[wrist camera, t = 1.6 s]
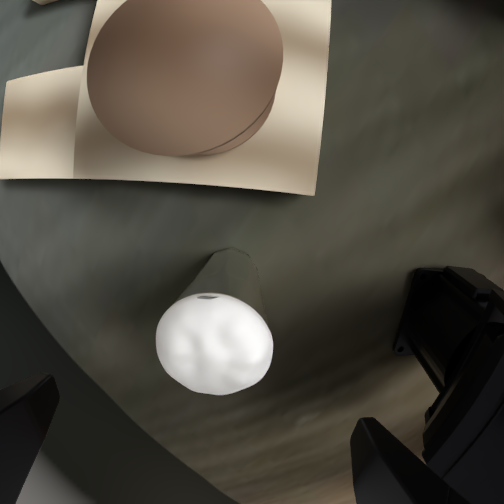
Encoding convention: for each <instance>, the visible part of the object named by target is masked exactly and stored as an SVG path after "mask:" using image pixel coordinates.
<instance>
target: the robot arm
mask: <svg viewBox="0 0 504 504" xmlns="http://www.w3.org/2000/svg"><path fill="white" fill-rule="evenodd" d="M423 273H424V275H423V277H422V278H420V275H421V274H423ZM401 346H402V347H401ZM399 347H401V348H400V349H398V348H399ZM393 351H394V353H395V354H396V355H415V356H416V358H417V359H418V361H419V362H420V364H421V365H422V367H423V368H424V370H425V371H426V373H427V375H428V376H429V378H430V379H431V381H432V382H433V384H434V385H435V387H436V389H437V390H438V392H439V393H440V394H439V395H438V397H437V399H436V400H435V402H434V403H433V405H432V406H431V407H429V408H428V410H427V411H426V413H425V424H426V426H425V429H424V432H423V443H424V450H423V451H422V456H423V459H424V461H425V463H426V464H424V463H423V462H422V461H421V460H420V459H419V458H418V457H417V456H416V455H414V454H413V453H412V452H411V451H410V450H409V449H408V448H407V447H406V446H404V445H403V444H402V443H401V442H400V441H399V440H398V439H397V438H396V437H395V436H393V435H392V434H391V433H390V432H389V431H388V430H387V429H386V428H385V427H384V426H383V425H382V424H380V423H379V422H378V421H377V420H376V419H375V418H373V417H364V418H360V419H359V420H358V422H357V424H356V426H355V429H354V431H353V433H352V435H351V439H350V446H351V459H352V473H353V486H354V492H355V497H356V503H357V504H504V291H503V289H501V288H500V287H499V286H497V285H496V284H494V283H493V282H491V281H490V280H488V279H487V278H486V277H485V276H484V275H482V274H479V273H478V272H476V271H475V270H473V269H470V268H461V267H452V266H446V267H445V268H443V270H439V269H430V268H419V269H417V270H416V271H415V274H414V277H413V281H412V285H411V288H410V292H409V296H408V299H407V303H406V306H405V310H404V313H403V316H402V320H401V323H400V326H399V329H398V332H397V335H396V338H395V341H394V344H393ZM59 397H60V396H59V392H58V388H57V385H56V382H55V379H54V377H53V376H52V375H51V374H48V373H45V372H40V373H37V374H35V375H33V376H30V377H28V378H26V379H24V380H22V381H19V382H17V383H15V384H12V385H10V386H8V387H6V388H3V389H1V390H0V504H16V501H17V499H18V497H19V494H20V492H21V489H22V487H23V485H24V483H25V480H26V478H27V476H28V474H29V472H30V469H31V467H32V465H33V463H34V461H35V459H36V457H37V454H38V452H39V450H40V448H41V446H42V444H43V442H44V440H45V437H46V435H47V432H48V429H49V427H50V424H51V421H52V419H53V416H54V413H55V411H56V408H57V405H58V403H59Z"/></svg>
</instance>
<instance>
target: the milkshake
mask: <svg viewBox="0 0 504 504" xmlns="http://www.w3.org/2000/svg"><path fill="white" fill-rule="evenodd" d="M156 349H157V354H158V357H159V360H160V362H161V364H162V366H163V368H164V369H165V371H166V372H167V373H168V374H169V375H170V376H171V377H172V378H174V379H175V380H176V381H178V382H179V383H181V384H182V385H184V386H185V387H187V388H188V389H190V390H192V391H195V392H199V393H207V394H213V395H226V394H231V393H234V392H237V391H240V390H242V389H245V388H247V387H250V386H252V385H254V384H255V383H257V382H258V381H259V380H261V379H262V378H263V376H264V375H265V374H266V372H267V370H268V368H269V366H270V363H271V359H272V354H273V339H272V335H271V332H270V329H269V325H268V320H267V316H266V312H265V308H264V303H263V297H262V291H261V286H260V280H259V275H258V269H257V267H256V266H255V264H254V263H253V261H252V260H251V258H250V257H249V255H248V254H246V253H243V252H240V251H238V250H235V249H233V248H231V249H226V250H222V251H218V252H215V253H214V254H213V255H212V257H211V258H210V259H209V260H208V261H207V263H206V264H205V265H204V266H203V268H202V269H201V270H200V272H199V273H198V274H197V276H196V277H195V278H194V280H193V281H192V282H191V284H190V285H189V286H188V287H187V288H186V289H185V290H184V291H183V292H182V293H181V294H180V296H179V297H178V298H177V299H176V300H175V301H174V302H173V304H172V305H171V306H170V307H169V308H168V310H167V311H166V312H165V313H164V314H163V316H162V317H161V319H160V321H159V323H158V326H157V330H156Z"/></svg>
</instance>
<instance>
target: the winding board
mask: <svg viewBox="0 0 504 504" xmlns="http://www.w3.org/2000/svg"><path fill="white" fill-rule="evenodd" d="M32 1H34V2H36V3H38V4H40V5H45V4H48V3H51V2H54V1H57V0H32ZM125 1H127V0H98V1H97V4H96V8H95V12H94V16H93V20H92V25H91V29H90V34H89V38H88V43H87V48H86V54H85V59H84V65H83V66H77V67H71V68H65V69H59V70H54V71H49V72H44V73H39V74H35V75H30V76H26V77H22V78H18V79H14V80H10V81H7V84H6V91H5V98H4V106H3V116H2V127H1V142H0V179H35V178H60V179H110V180H135V181H155V182H172V183H188V184H201V185H214V186H226V187H237V188H248V189H258V190H268V191H277V192H286V193H295V194H303V195H311V196H314V195H315V187H316V179H317V171H318V162H319V153H320V144H321V135H322V125H323V115H324V104H325V92H326V80H327V67H328V53H329V37H330V19H331V0H261V1H262V2H263V3H264V4H265V5H266V6H267V8H268V9H269V10H270V12H271V13H272V15H273V16H274V18H275V20H276V22H277V25H278V27H279V30H280V33H281V37H282V43H283V65H282V71H281V76H280V80H279V83H278V86H277V89H276V94H275V99H274V103H273V106H272V109H271V112H270V114H269V116H268V118H267V119H266V121H265V122H264V124H263V126H262V127H261V128H260V129H259V130H258V131H257V133H255V134H254V135H253V136H252V137H251V138H250V139H249V140H247V141H246V142H244V143H243V144H241V145H239V146H237V147H236V148H233V149H231V150H228V151H226V152H222V153H218V154H211V155H184V156H162V155H153V154H149V153H145V152H141V151H139V150H136V149H134V148H131V147H129V146H127V145H126V144H124V143H122V142H120V141H119V140H118V139H116V138H115V137H114V136H113V135H111V134H110V133H109V132H108V131H107V129H106V128H105V127H104V126H103V125H102V123H101V122H100V121H99V119H98V118H97V116H96V114H95V112H94V110H93V108H92V105H91V102H90V99H89V95H88V89H87V66H88V60H89V56H90V52H91V49H92V47H93V44H94V41H95V39H96V37H97V35H98V33H99V31H100V30H101V28H102V27H103V25H104V24H105V22H106V21H107V20H108V18H109V17H110V16H111V15H112V14H113V13H114V11H115V10H116V9H118V8H119V7H120V6H121V5H122V4H123V3H124V2H125Z"/></svg>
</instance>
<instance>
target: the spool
mask: <svg viewBox="0 0 504 504" xmlns="http://www.w3.org/2000/svg"><path fill="white" fill-rule="evenodd" d="M282 65H283V43H282V37H281V33H280V30H279V27H278V25H277V22H276V20H275V18H274V16H273V15H272V13H271V12H270V10H269V9H268V8H267V6H266V5H265V4H264V3H263V2H262V1H261V0H127V1H125V2H124V3H123V4H122V5H121V6H120V7H119V8H118V9H116V10H115V11H114V13H113V14H112V15H111V16H110V17H109V18H108V20H107V21H106V22H105V24H104V25H103V27H102V28H101V30H100V31H99V33H98V35H97V37H96V39H95V41H94V44H93V47H92V49H91V52H90V56H89V60H88V66H87V89H88V95H89V99H90V102H91V105H92V108H93V110H94V112H95V114H96V116H97V118H98V119H99V121H100V122H101V123H102V125H103V126H104V127H105V128H106V129H107V131H108V132H109V133H110V134H111V135H113V136H114V137H115V138H116V139H118V140H119V141H120V142H122V143H124V144H126V145H127V146H129V147H131V148H134V149H136V150H139V151H141V152H145V153H149V154H153V155H162V156H184V155H211V154H218V153H222V152H226V151H228V150H231V149H233V148H236V147H237V146H239V145H241V144H243V143H244V142H246V141H247V140H249V139H250V138H251V137H252V136H253V135H254V134H255V133H257V131H258V130H259V129H260V128H261V127H262V126H263V124H264V122H265V121H266V119H267V118H268V116H269V114H270V112H271V109H272V106H273V103H274V99H275V94H276V89H277V86H278V83H279V80H280V76H281V71H282Z"/></svg>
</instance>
